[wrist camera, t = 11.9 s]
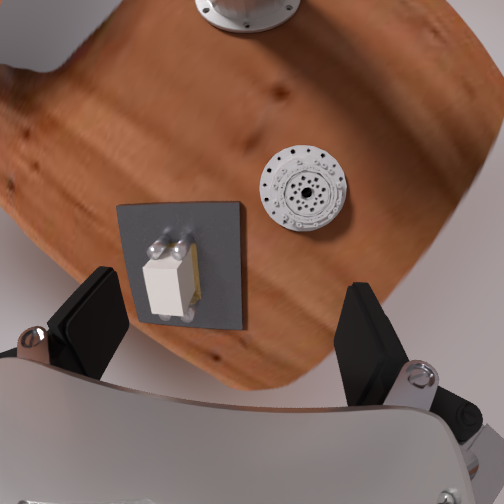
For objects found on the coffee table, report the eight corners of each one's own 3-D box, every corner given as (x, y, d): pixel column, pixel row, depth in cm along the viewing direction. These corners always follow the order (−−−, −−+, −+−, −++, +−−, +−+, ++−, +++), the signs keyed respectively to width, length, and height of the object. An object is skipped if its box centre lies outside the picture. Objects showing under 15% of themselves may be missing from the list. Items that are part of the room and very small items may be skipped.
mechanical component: (358, 172, 30) (285, 129, 29) (370, 177, 26) (288, 127, 25) (316, 241, 34) (245, 203, 32) (323, 255, 30) (241, 213, 28)
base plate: (119, 204, 33) (100, 215, 28) (240, 200, 32) (235, 211, 27) (141, 318, 40) (129, 337, 35) (242, 325, 39) (239, 348, 34)
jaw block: (161, 247, 34) (142, 268, 28) (191, 247, 33) (176, 269, 28) (167, 288, 36) (151, 313, 30) (195, 289, 36) (183, 316, 30)
